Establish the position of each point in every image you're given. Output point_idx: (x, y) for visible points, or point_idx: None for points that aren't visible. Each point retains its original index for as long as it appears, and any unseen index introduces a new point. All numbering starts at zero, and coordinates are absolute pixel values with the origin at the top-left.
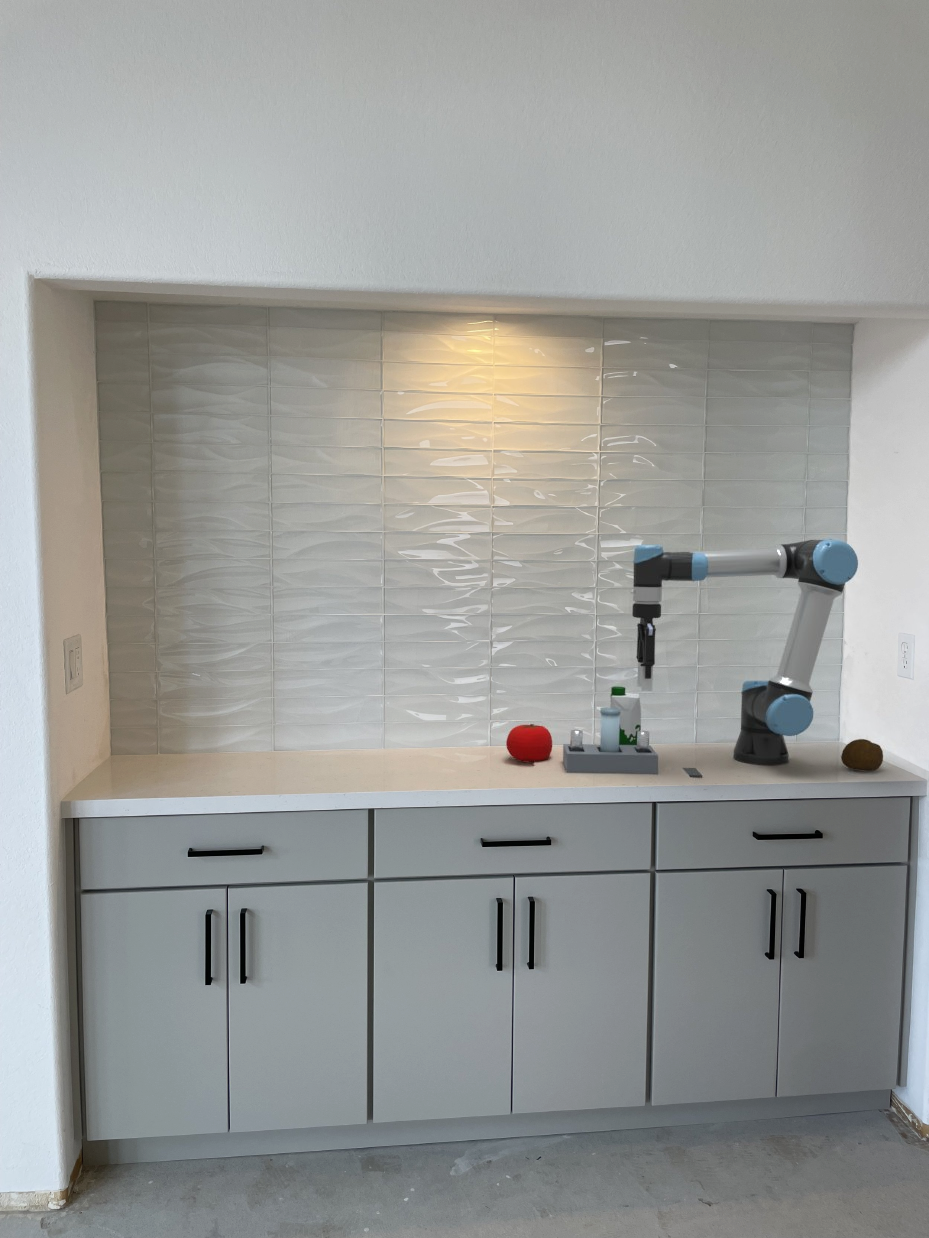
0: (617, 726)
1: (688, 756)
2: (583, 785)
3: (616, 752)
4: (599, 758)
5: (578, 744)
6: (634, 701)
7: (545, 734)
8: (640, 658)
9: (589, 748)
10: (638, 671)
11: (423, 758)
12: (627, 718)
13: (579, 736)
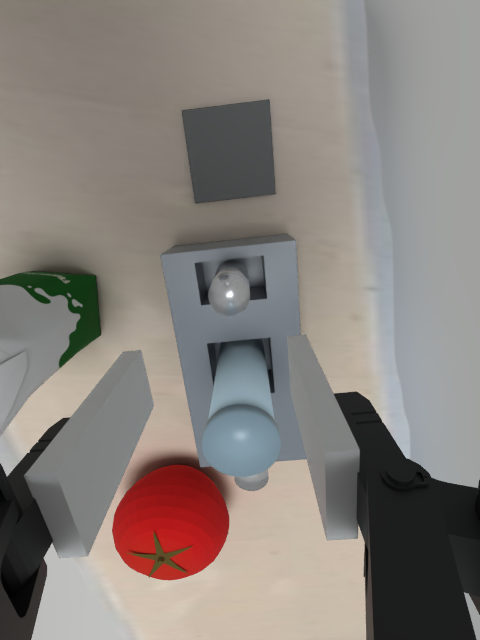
0: (261, 388)
1: (8, 112)
2: (368, 395)
3: (274, 353)
4: None
5: None
6: None
7: (192, 518)
8: (14, 589)
9: None
10: (119, 479)
11: (208, 621)
12: (46, 342)
13: None
